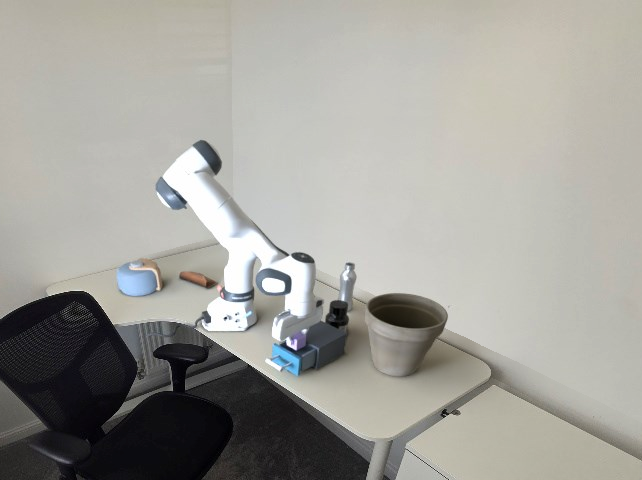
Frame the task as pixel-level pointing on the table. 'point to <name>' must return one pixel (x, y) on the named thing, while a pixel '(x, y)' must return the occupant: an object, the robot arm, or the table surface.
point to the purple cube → (298, 341)
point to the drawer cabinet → (326, 342)
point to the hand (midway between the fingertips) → (296, 341)
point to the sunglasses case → (197, 278)
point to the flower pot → (402, 330)
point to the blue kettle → (139, 277)
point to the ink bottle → (338, 315)
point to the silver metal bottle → (347, 284)
